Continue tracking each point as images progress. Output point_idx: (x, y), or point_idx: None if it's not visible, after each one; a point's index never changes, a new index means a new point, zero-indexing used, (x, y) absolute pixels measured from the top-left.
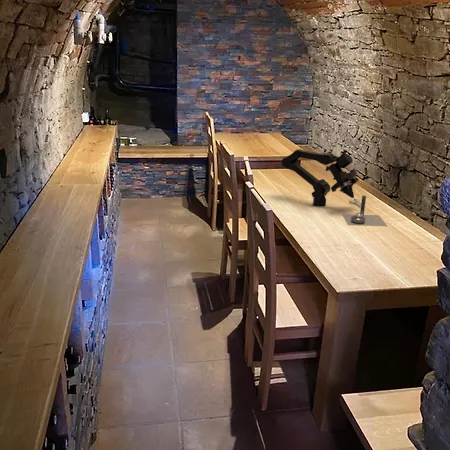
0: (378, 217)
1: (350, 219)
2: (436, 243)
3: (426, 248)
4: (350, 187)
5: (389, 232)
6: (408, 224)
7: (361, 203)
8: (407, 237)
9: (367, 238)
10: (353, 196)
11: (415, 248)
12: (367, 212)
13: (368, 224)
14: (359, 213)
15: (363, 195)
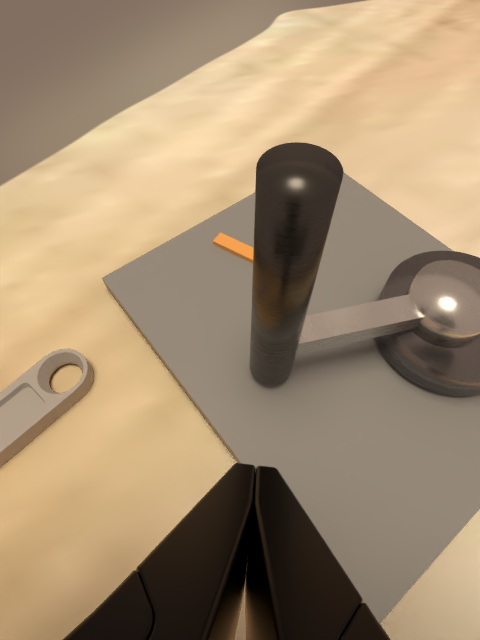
0: (171, 257)
1: (446, 421)
2: (328, 8)
3: (421, 14)
4: None
5: (381, 140)
6: (148, 120)
7: (310, 292)
8: (367, 75)
9: None
10: (265, 471)
11: (466, 31)
12: (78, 387)
13: (409, 247)
14: (430, 301)
15: (275, 189)
